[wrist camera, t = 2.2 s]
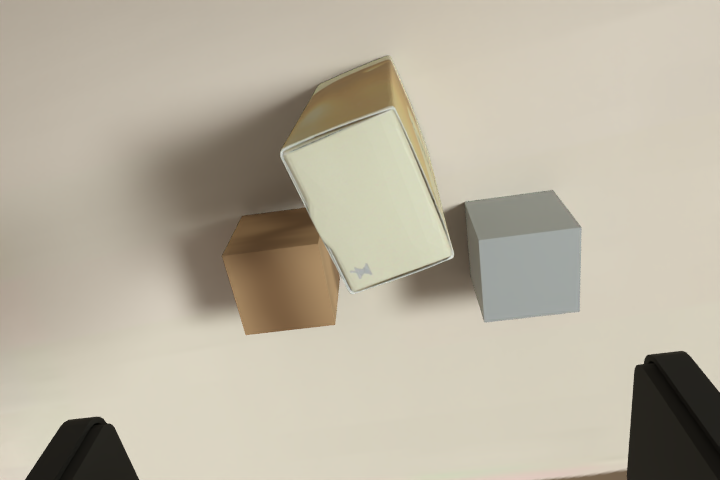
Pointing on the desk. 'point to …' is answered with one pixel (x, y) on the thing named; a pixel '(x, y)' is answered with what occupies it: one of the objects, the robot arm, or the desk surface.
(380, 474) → the desk surface
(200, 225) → the desk surface
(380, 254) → the skincare box
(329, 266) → the walnut block
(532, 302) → the slate grey block
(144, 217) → the desk surface
